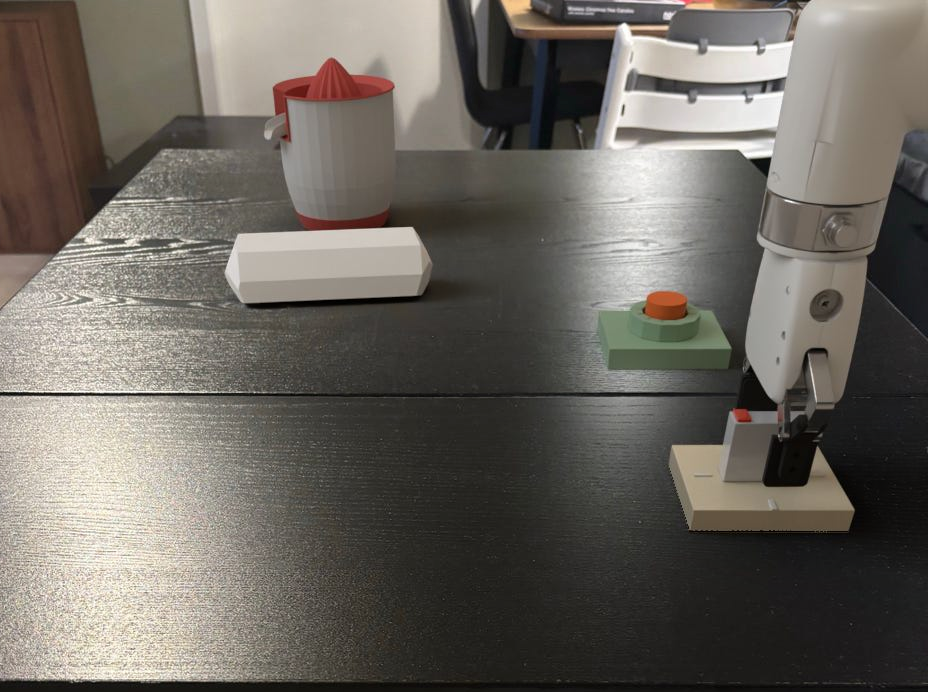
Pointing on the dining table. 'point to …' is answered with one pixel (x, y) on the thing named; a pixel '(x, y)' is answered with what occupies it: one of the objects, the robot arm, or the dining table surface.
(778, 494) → the plate
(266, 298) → the crystal
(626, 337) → the button block
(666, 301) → the button
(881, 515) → the dining table surface
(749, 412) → the tap handle
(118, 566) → the dining table surface
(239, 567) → the dining table surface
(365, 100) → the citrus juicer
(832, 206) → the robot arm
